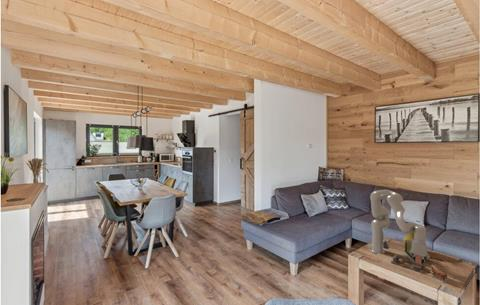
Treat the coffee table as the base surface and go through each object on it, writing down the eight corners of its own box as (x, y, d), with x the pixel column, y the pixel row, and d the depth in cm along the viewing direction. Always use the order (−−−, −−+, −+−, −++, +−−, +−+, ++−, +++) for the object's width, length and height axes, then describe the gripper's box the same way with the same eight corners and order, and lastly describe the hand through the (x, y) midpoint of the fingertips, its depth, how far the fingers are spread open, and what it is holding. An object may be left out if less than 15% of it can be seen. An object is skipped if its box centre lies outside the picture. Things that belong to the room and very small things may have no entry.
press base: (390, 264, 206) (391, 257, 206) (394, 259, 215) (395, 252, 214) (422, 274, 190) (422, 267, 190) (425, 269, 198) (425, 262, 198)
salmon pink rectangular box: (413, 269, 196) (413, 253, 196) (415, 265, 202) (415, 250, 201) (420, 271, 193) (421, 255, 192) (422, 267, 198) (423, 252, 197)
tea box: (425, 264, 206) (426, 247, 205) (412, 263, 208) (412, 246, 207) (416, 255, 221) (416, 240, 220) (404, 254, 223) (404, 239, 222)
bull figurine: (432, 273, 193) (432, 263, 192) (448, 283, 179) (448, 272, 179) (427, 273, 192) (427, 263, 192) (443, 283, 179) (443, 273, 178)
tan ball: (397, 263, 206) (398, 259, 206) (399, 261, 209) (399, 257, 208) (402, 264, 203) (402, 260, 203) (403, 263, 206) (404, 259, 206)
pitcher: (401, 251, 228) (403, 226, 227) (403, 246, 242) (405, 221, 241) (423, 258, 217) (426, 231, 216) (425, 251, 231) (427, 226, 230)
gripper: (406, 239, 199) (405, 260, 200) (431, 245, 187) (430, 268, 188) (408, 236, 204) (407, 257, 205) (433, 242, 192) (432, 264, 193)
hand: (418, 262), depth 197 cm, fingers closed on salmon pink rectangular box, 4 cm apart
